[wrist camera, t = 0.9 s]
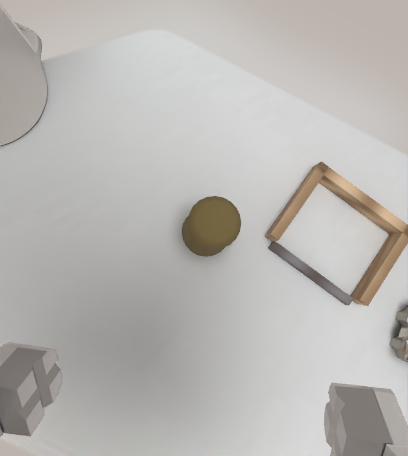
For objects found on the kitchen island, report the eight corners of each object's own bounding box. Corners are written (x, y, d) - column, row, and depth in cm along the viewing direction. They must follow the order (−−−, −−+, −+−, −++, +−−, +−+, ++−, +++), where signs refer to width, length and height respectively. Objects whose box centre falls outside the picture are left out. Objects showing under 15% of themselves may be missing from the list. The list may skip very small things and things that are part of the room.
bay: (260, 242, 43) (265, 241, 41) (313, 167, 45) (321, 161, 42) (352, 310, 43) (363, 312, 41) (402, 232, 45) (415, 230, 42)
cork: (202, 198, 43) (210, 175, 32) (239, 228, 43) (261, 215, 32) (172, 236, 42) (170, 225, 32) (210, 266, 42) (222, 266, 32)
